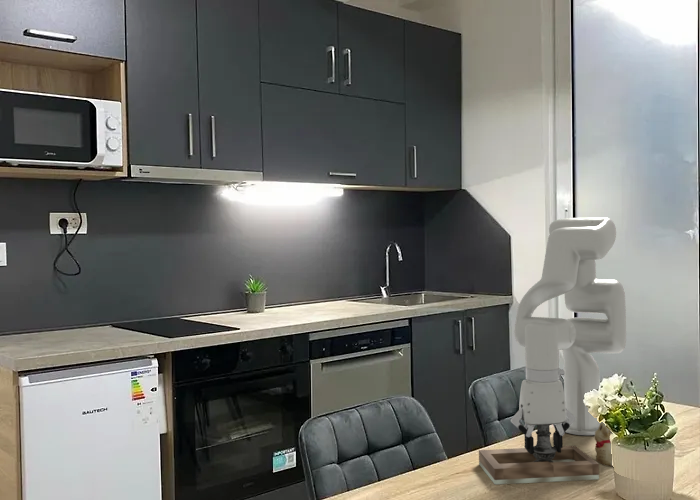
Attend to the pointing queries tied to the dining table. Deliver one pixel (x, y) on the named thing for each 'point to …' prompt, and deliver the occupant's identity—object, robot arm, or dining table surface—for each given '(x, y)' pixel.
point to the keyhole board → (537, 466)
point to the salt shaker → (543, 445)
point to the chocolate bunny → (603, 445)
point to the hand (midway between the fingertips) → (543, 450)
